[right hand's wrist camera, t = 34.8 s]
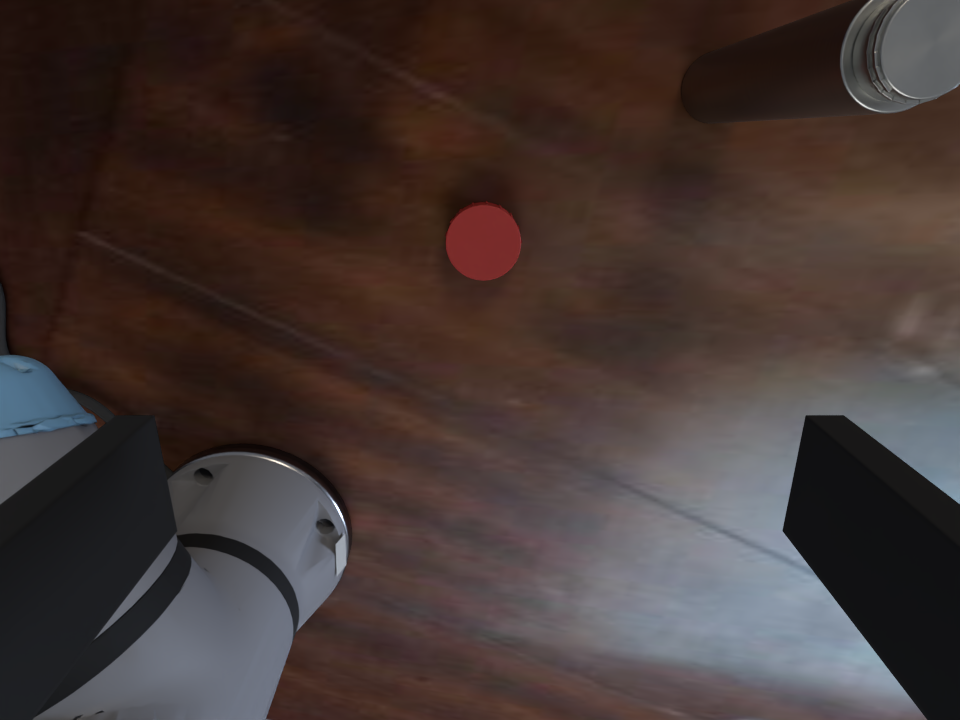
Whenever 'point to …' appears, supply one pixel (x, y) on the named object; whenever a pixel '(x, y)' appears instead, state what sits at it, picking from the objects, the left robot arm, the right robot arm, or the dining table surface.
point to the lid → (483, 241)
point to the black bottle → (832, 64)
